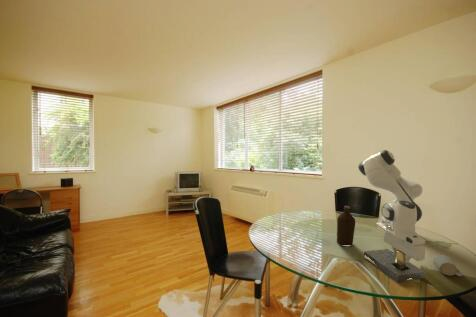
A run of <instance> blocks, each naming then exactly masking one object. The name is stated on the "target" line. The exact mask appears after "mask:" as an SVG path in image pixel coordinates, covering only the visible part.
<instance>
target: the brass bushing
mask: <svg viewBox="0 0 476 317" xmlns="http://www.w3.org/2000/svg"><path fill="white" fill-rule="evenodd" d="M404 258H407V256H406V254H405V253H403V252H401V251H399V250H398V249H397V251H396V261H395V265H396V266H397V267H399V268H403V269H404V268H406V262H404Z"/></svg>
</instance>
